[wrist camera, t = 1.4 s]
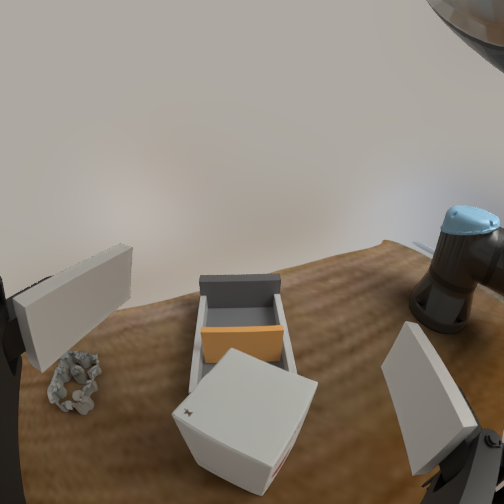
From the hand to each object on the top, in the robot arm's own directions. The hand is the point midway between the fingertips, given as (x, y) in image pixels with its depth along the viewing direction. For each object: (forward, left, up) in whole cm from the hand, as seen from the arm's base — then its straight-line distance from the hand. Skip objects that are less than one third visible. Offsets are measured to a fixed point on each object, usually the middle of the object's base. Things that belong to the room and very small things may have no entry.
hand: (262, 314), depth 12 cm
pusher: (+12, -12, -25) cm, 30 cm away
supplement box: (+2, -1, -26) cm, 26 cm away
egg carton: (+26, +11, -27) cm, 39 cm away
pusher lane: (+15, -14, -26) cm, 33 cm away
